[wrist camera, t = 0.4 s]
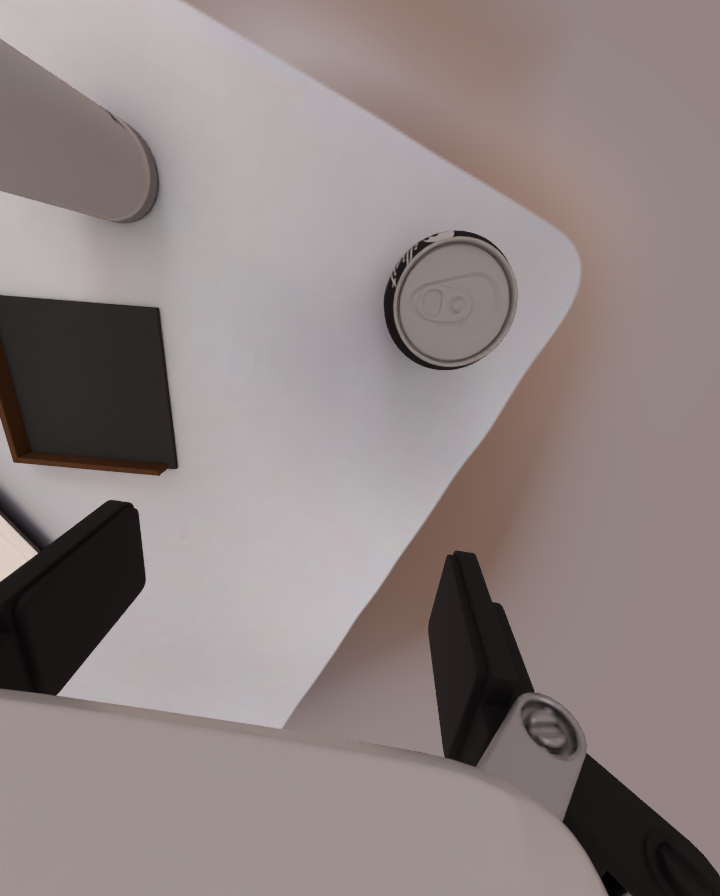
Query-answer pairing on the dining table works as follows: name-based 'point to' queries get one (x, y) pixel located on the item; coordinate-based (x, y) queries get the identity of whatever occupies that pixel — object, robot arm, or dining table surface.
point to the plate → (13, 547)
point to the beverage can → (450, 300)
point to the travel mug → (68, 146)
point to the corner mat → (85, 386)
